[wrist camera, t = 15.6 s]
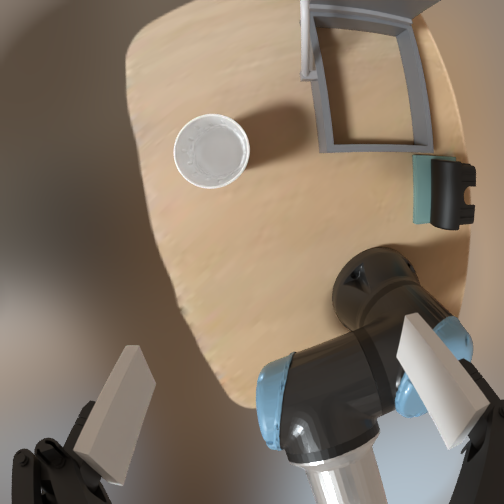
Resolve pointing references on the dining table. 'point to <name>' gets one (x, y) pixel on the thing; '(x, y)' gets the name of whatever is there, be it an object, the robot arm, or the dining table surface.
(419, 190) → the rubber pad
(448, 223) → the end cap
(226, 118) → the white cup
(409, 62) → the case
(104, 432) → the robot arm
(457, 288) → the dining table surface
